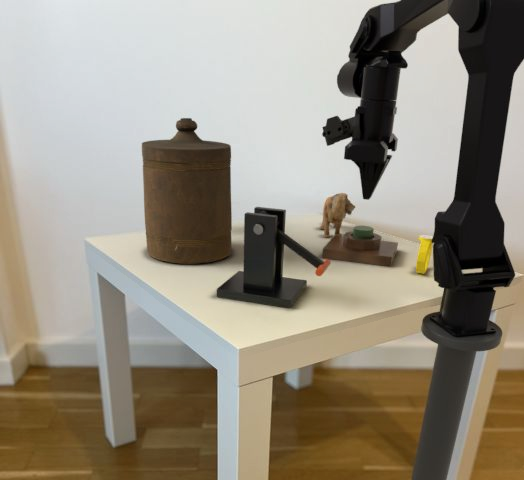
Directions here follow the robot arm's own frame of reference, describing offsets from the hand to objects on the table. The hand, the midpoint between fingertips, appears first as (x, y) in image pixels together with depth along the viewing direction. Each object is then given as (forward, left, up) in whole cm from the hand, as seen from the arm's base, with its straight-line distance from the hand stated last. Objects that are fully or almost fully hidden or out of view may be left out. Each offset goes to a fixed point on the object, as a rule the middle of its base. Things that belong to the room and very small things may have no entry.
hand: (366, 198), depth 95 cm
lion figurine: (+15, -1, -10) cm, 18 cm away
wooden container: (+7, +30, -10) cm, 33 cm away
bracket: (-15, +23, -10) cm, 29 cm away
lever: (-17, +20, -3) cm, 27 cm away
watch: (-11, -6, -10) cm, 16 cm away
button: (0, 0, -7) cm, 7 cm away
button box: (0, 0, -10) cm, 10 cm away
